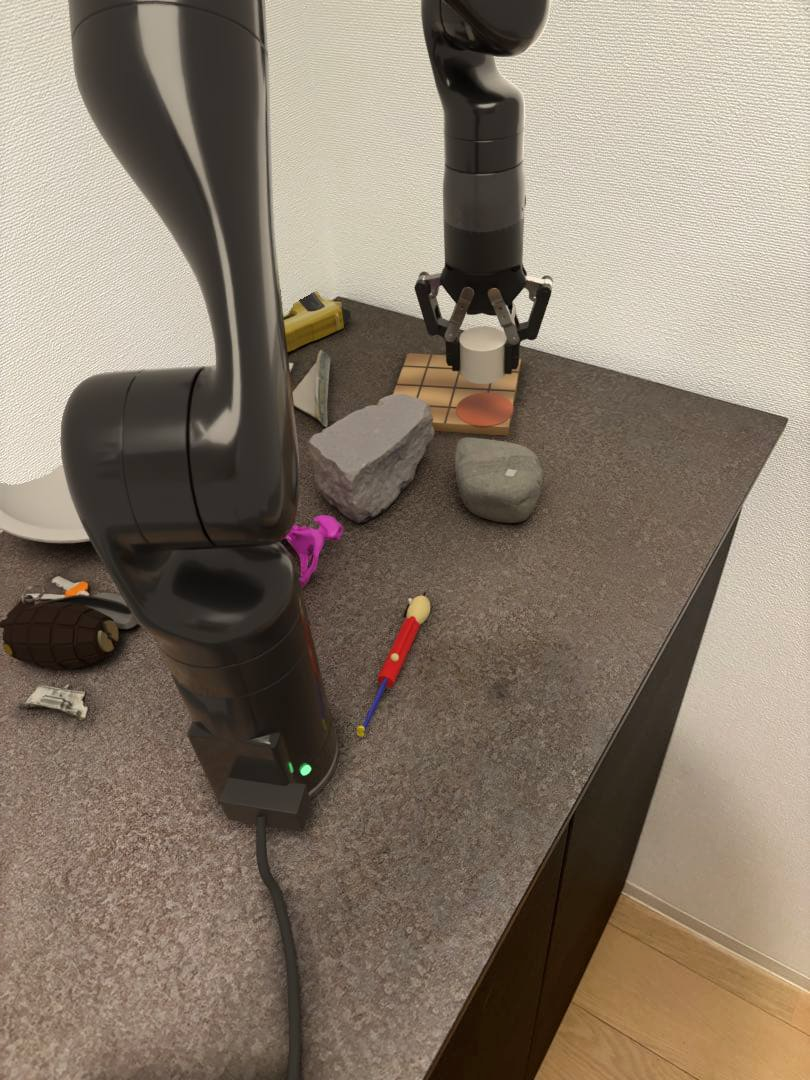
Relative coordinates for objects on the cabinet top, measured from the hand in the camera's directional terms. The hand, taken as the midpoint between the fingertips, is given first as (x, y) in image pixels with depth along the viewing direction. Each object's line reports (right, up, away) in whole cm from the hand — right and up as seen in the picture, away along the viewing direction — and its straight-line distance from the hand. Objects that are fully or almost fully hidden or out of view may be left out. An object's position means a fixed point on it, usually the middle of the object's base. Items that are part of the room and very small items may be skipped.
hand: (483, 368), depth 85 cm
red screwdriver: (-6, -30, -21) cm, 37 cm away
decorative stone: (-12, -12, -2) cm, 17 cm away
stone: (+1, -14, -5) cm, 15 cm away
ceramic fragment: (-19, -1, +10) cm, 21 cm away
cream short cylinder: (0, 0, 0) cm, 0 cm away
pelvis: (-20, -22, -11) cm, 32 cm away
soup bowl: (-40, -13, -1) cm, 42 cm away
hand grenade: (-32, -26, -19) cm, 45 cm away
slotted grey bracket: (-37, -32, -22) cm, 54 cm away
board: (-2, -2, +8) cm, 8 cm away
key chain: (-38, -23, -13) cm, 46 cm away
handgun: (-30, +13, +24) cm, 40 cm away
